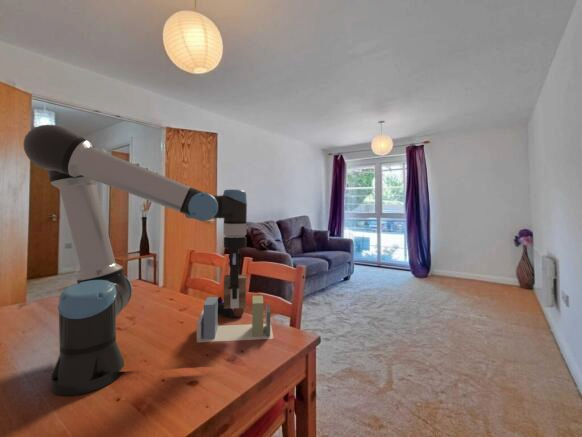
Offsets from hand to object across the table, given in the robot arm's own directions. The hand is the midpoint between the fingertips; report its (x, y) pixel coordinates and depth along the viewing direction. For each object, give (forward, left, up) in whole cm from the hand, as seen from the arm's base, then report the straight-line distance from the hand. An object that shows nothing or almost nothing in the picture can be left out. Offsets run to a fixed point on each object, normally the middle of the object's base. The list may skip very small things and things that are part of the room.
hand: (235, 305), depth 96 cm
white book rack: (0, -1, -11) cm, 11 cm away
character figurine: (+17, +4, -11) cm, 21 cm away
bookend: (0, -11, -9) cm, 14 cm away
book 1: (0, +8, -9) cm, 12 cm away
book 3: (0, -8, -9) cm, 12 cm away
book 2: (0, 0, 0) cm, 0 cm away
